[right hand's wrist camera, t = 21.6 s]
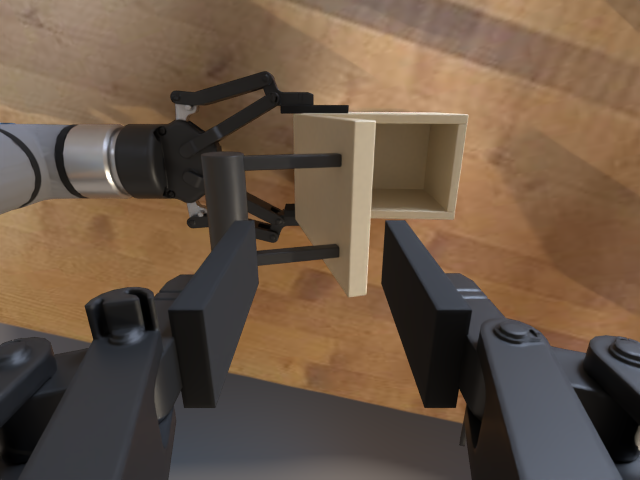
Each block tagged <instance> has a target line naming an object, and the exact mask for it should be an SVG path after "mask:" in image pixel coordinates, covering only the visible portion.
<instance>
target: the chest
mask: <svg viewBox="0 0 640 480" xmlns="http://www.w3.org/2000/svg"><path fill="white" fill-rule="evenodd" d="M302 114H312V115H323V116H333V117H344V118H355V119H365V120H375V121H376V128H375V146H374V164H373V182H372V200H371V218H383V219H440V220H454V215H455V208H456V200H457V193H458V186H459V179H460V172H461V165H462V157H463V150H464V143H465V136H466V129H467V122H468V115H467V114H451V113H427V112H348V113H302Z"/></svg>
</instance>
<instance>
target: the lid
mask: <svg viewBox="0 0 640 480" xmlns="http://www.w3.org/2000/svg"><path fill="white" fill-rule="evenodd" d="M375 128H376V121H375V120H365V119H355V118H344V117H333V116H323V115H312V114H293V131H294V154H282V155H247V156H244V154H243V153H241V152H209V153H204V154H201V161H202V170H203V179H204V188H205V197H206V206H207V215H208V224H209V234H210V243H211V252H212V250H213V249H214V248H215V246H216V245H217V244H218V242H219V241H220V240H221V238H222V237H223V236H224V234H225V233H226V232H227V230H228V229H229V228H230V226H231V225H232V224H233V222H234V221H235V220H248V209H247V195H246V180H245V171H251V170H277V169H294V179H295V219H296V221H297V222H298V224H299V225H300V227H301V228H302V230H303V231H304V233H305V234H306V236H307V237H308V239H309V240H310V242H311V243H312V245H313V246H305V247H294V248H283V249H272V250H261V251H257V266H260V265H270V264H280V263H290V262H299V261H309V260H319V259H323V261H324V262H325V264H326V265H327V267H328V268H329V270H330V271H331V273H332V274H333V276H334V277H335V279H336V280H337V282H338V283H339V285H340V286H341V287H342V289H343V290H344V292H345V293H346V295H347V296H348V297H355V296H363V295H366V291H367V273H368V255H369V236H370V218H371V200H372V182H373V164H374V146H375Z"/></svg>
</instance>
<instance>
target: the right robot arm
mask: <svg viewBox="0 0 640 480" xmlns="http://www.w3.org/2000/svg"><path fill="white" fill-rule="evenodd" d="M258 284H259V281H258V266H257V251H256V235H255V220H235V221H234V222H233V224H232V225H231V226H230V228H229V229H228V230H227V232H226V233H225V234H224V236H223V237H222V238H221V240H220V241H219V242H218V244H217V245H216V246H215V248H214V249H213V250H212V252H211V253H210V254H209V256H208V257H207V258H206V260H205V261H204V262H203V264H202V265H201V266H200V268H199V269H198V270H197V272H196V273H195V274H194V275H179V276H177V277H175V278H174V279H172V280H170V281H168V282H167V283H166V284H165V285H164V286H163V288H162V289H161V290H160V292H159V293H157V294H156V296H155V297H154V294H153V292H152V291H150V290H149V289H146V288H141V287H127V288H121V289H116V290H112V291H109V292H106V293H103V294H101V295H99V296H97V297H95V298H93V299H91V300H90V301H89V302H88V303H87V304H86V305H85V309H86V313H87V317H88V321H89V325H90V328H91V332H92V336H93V341H92V343H91V345H90V347H89V348H86V349H82V350H77V351H71V352H66V353H61V354H55V355H54V352H53V349H52V346H51V343H50V342H49V341H48V340H46V339H45V338H38V337H31V338H20V339H15V340H14V341H12V340H11V341H8V342H5V343H3V344H1V345H0V480H168V477H169V470H170V463H171V455H172V448H173V441H174V433H175V426H176V416H175V410H174V403H175V401H176V399H177V397H178V395H179V393H180V391H181V392H182V398H183V404H184V408H215V407H216V405H217V402H218V399H219V396H220V393H221V390H222V387H223V384H224V382H225V379H226V376H227V373H228V370H229V367H230V364H231V362H232V359H233V356H234V353H235V350H236V347H237V344H238V341H239V339H240V336H241V333H242V330H243V327H244V324H245V321H246V318H247V316H248V313H249V310H250V307H251V304H252V301H253V298H254V295H255V293H256V290H257V287H258ZM381 284H382V287H383V290H384V293H385V295H386V298H387V301H388V304H389V307H390V310H391V313H392V316H393V318H394V321H395V324H396V327H397V330H398V333H399V336H400V339H401V341H402V344H403V347H404V350H405V353H406V356H407V359H408V362H409V364H410V367H411V370H412V373H413V376H414V379H415V382H416V385H417V387H418V390H419V393H420V396H421V399H422V402H423V405H424V408H456V404H457V398H458V392H459V389H460V391H461V393H462V395H463V397H464V399H465V401H466V403H467V404H466V410H465V415H464V421H463V426H462V432H461V437H460V446H465V440H467V447H468V455H469V462H470V469H471V477H472V480H640V343H639V342H638V341H635V340H632V339H627V338H625V337H620V336H618V337H616V336H607V335H605V336H597V337H595V338H593V339H592V340H590V343H589V346H588V349H587V352H586V353H583V352H578V351H572V350H567V349H562V348H556V347H552V346H550V344H549V342H548V341H547V339H546V338H545V337H544V335H543V334H542V333H541V332H540V331H538V330H536V329H535V328H533V327H532V326H530V325H527V324H525V323H522V322H520V321H516V320H512V319H507V318H505V317H504V316H503V314H502V313H501V312H500V311H499V310H498V309H497V308H496V306H495V305H494V304H493V303H492V302H491V301H490V300H489V299H487V296H486V295H485V294H484V293H483V292H482V291H481V289H480V288H479V287H478V286H477V285H476V284H475V283H474V281H472V280H470V279H469V278H467V277H465V276H463V275H462V274H460V273H444V272H443V270H442V269H441V268H440V266H439V265H438V264H437V262H436V261H435V260H434V258H433V257H432V256H431V254H430V253H429V252H428V250H427V249H426V248H425V246H424V245H423V244H422V242H421V241H420V240H419V238H418V237H417V236H416V234H415V233H414V232H413V230H412V229H411V228H410V226H409V225H408V224H407V222H406V221H405V220H385V235H384V251H383V266H382V281H381Z"/></svg>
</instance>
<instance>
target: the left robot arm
mask: <svg viewBox="0 0 640 480" xmlns="http://www.w3.org/2000/svg"><path fill="white" fill-rule="evenodd" d="M260 89H264V92H265V94H266V96H264V97H263V98H261V99H259V100H258V101H256V102H254V103H253V104H251V105H249V106H248V107H246V108H245V109H243V110H241V111H240V112H238V113H236V114H235V115H233V116H231V117H230V118H228V119H226V120H225V121H223V122H222V123H220V124H218V125H217V126H215V127H213V128H211V129H209V130H208V131H206V132H205V131H204V130H202V129H201V128H199V127H198V126H196V125H195V124H194V123H192V122H191V121H189V117H190V116H191V115H192V114H195V113H197V112H198V111H199V106H202V105H209V104H213V103H216V102H220V101H223V100H226V99H230V98H233V97H236V96H240V95H243V94H247V93H250V92H253V91H257V90H260ZM170 97H171V100H172V102H173V103H175V110H176V120H174V121H173V122H171V123H169V124H128V125H126V126H123V125H121V124H79V125H47V124H15V123H0V214H3V213H6V212H8V211H11V210H14V209H18V208H22V207H25V206H28V205H31V204H34V203H37V202H39V201H43V200H48V199H67V198H103V199H128V198H131V197H134V198H138V199H171V198H174V199H179V200H181V201H183V202H186V203H187V207H188V211H189V216H190V218H189V219H188V220H187V225H188V226H189V227H190V228H202V227H209V224H208V215H207V206H205V205H201V204H200V203H199V201H198V200H199V199H200V198H201V197H202V196H204V195H205V188H204V179H203V170H202V161H201V154H204V153H209V152H222V148H221V146H220V145H219V143H218V142H219V141H220V140H222V139H224V138H225V137H227V136H228V135H230V134H231V133H233V132H235V131H236V130H238V129H240V128H241V127H243V126H245V125H246V124H248V123H250V122H251V121H253V120H255V119H256V118H258V117H260V116H261V115H263V114H265V113H266V112H268V111H270V110H271V109H273V108H275V107H276V106H281V113H300V114H302V113H348V107H349V105H313V94H311V93H308V92H281V91H279V89H278V88H277V85H276V82H275V80H274V77H273V75H272V74H270V73H269V72H267V71H264V72H260V73H257V74H254V75H250V76H247V77H244V78H240V79H237V80H234V81H230V82H227V83H224V84H220V85H217V86H214V87H210V88H207V89H204V90H200V91H197V92H186V91H173V92H172V93H171V96H170ZM246 195H247V209H248V212H249V213H251V214H253V215H255V216H257V217H258V218H260V219H262V220H264V221H266V222H268V223H270V224H268V223H264V222H260V221H256V220H255V235H256V239H259V240H264V241H268V242H272V243H274V242H276V241H277V240H278V238H279V235H280V232H281V230H282V228H283V227H284V226H300V225H299V224H298V222H297V221H296V219H295V204H286V205H285V209H283V211H282V210H280V209H278V208H276V207H274V206H272V205H271V204H269V203H267V202H265V201H263V200H261V199H259V198H257V197H255V196H253V195H251V194H249V193H248V192H246ZM248 220H252V219H248Z"/></svg>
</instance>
